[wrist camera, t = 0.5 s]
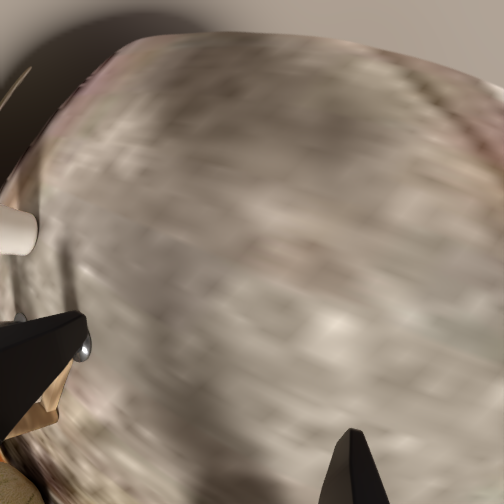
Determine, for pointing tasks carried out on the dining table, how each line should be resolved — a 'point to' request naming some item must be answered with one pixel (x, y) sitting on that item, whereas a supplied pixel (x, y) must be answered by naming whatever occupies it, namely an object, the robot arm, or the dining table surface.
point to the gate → (43, 407)
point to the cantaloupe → (17, 487)
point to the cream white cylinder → (17, 231)
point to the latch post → (18, 319)
